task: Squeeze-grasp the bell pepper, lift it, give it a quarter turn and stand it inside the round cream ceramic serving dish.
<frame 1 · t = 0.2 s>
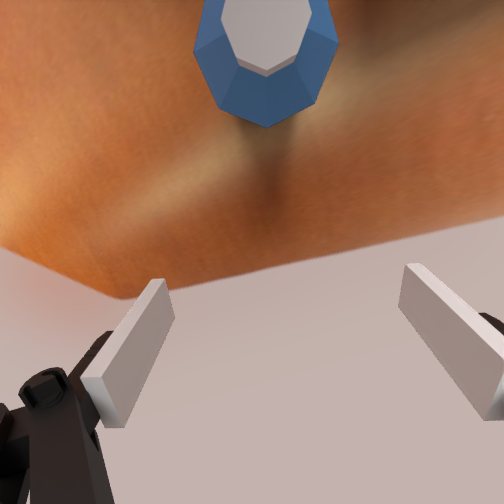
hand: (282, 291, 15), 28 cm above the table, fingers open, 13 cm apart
water bottle: (264, 87, 35), on the table
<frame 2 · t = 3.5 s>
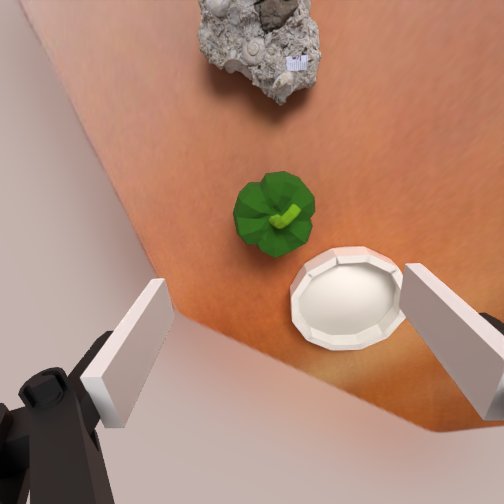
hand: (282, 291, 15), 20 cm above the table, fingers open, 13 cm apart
mineral specimen: (264, 41, 26), on the table
bell pepper: (273, 201, 33), on the table
dish: (343, 294, 38), on the table
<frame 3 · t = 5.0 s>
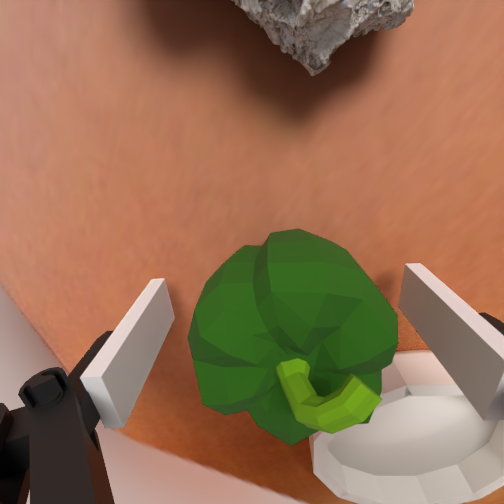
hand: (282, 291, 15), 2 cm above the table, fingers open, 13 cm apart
bell pepper: (282, 273, 17), on the table
dish: (401, 419, 22), on the table
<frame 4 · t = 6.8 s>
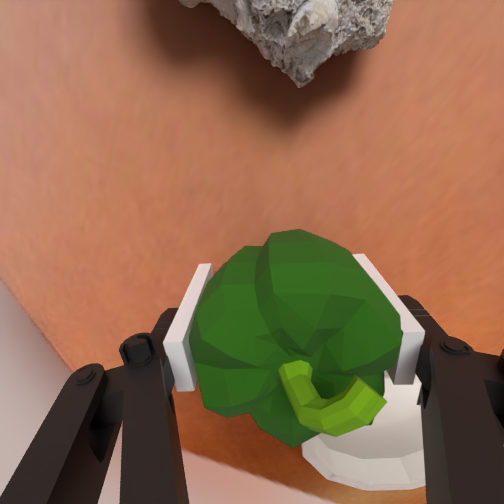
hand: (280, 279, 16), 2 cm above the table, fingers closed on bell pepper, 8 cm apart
bell pepper: (283, 273, 17), point 1 cm above the table, touching gripper
dish: (384, 403, 23), on the table
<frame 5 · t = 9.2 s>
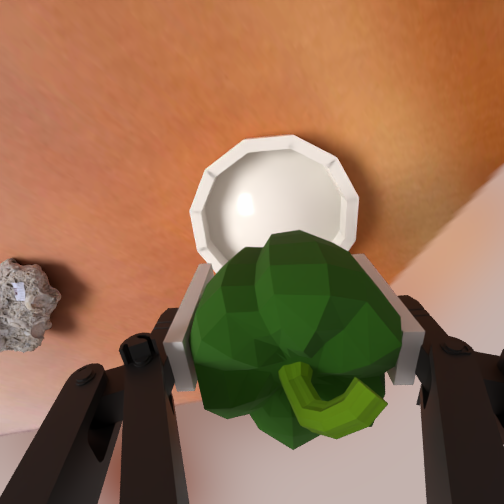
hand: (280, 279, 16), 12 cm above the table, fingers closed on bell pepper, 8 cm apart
mineral specimen: (30, 293, 33), on the table
bell pepper: (283, 274, 17), point 12 cm above the table, touching gripper
dish: (272, 216, 27), on the table
when the fingers open (3 cm above the table, at t = 11.3 s): bell pepper drops 2 cm, resting on dish.
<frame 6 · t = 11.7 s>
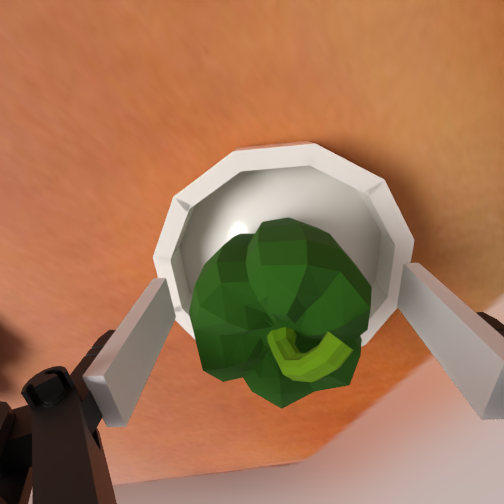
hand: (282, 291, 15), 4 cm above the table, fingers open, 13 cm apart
bell pepper: (275, 260, 18), point 1 cm above the table, touching dish
dish: (278, 258, 19), on the table
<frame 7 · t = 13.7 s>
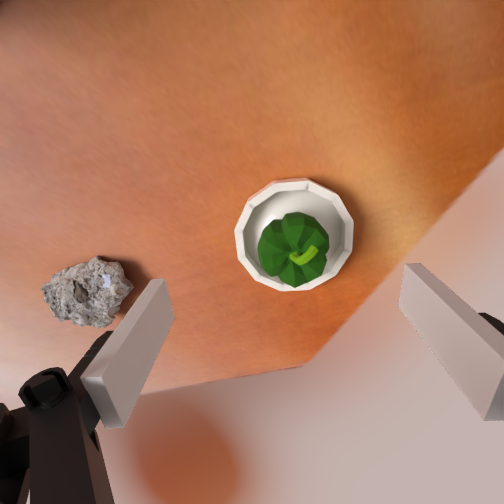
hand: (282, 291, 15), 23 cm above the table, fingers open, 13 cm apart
mineral specimen: (105, 283, 43), on the table
bell pepper: (290, 233, 37), point 1 cm above the table, touching dish
dish: (291, 233, 38), on the table
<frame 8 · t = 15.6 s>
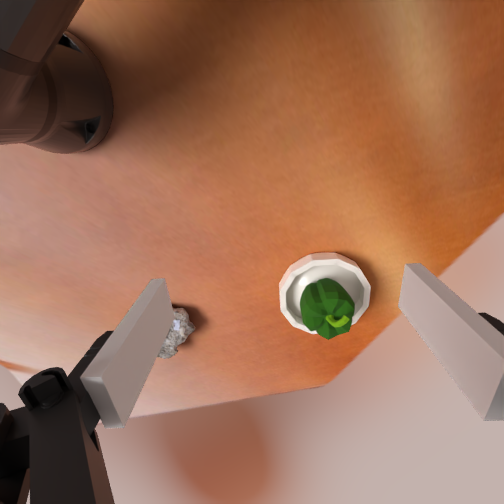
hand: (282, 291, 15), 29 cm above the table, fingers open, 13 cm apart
mineral specimen: (169, 322, 53), on the table
bell pepper: (320, 291, 48), point 1 cm above the table, touching dish
dish: (321, 290, 48), on the table
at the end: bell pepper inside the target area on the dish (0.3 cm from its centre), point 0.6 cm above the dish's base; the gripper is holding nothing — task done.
